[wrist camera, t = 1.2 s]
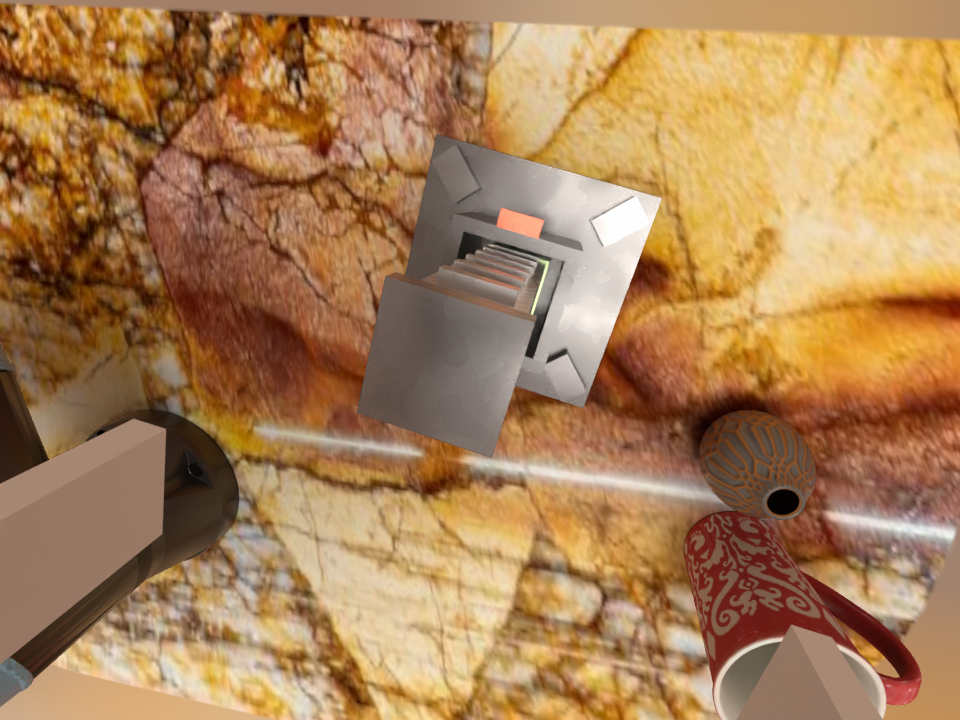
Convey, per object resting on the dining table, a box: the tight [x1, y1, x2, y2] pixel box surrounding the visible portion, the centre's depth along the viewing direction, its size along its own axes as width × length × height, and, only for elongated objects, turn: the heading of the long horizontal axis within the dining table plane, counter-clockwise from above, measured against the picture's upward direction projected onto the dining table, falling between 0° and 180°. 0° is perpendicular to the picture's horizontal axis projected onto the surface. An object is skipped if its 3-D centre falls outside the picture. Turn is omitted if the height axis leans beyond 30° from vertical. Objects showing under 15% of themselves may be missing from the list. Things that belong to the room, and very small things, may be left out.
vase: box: [699, 410, 816, 520], centre depth 34 cm, size 7×7×9 cm
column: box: [357, 242, 551, 458], centre depth 26 cm, size 5×5×22 cm
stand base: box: [405, 135, 662, 408], centre depth 33 cm, size 16×16×10 cm
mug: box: [684, 512, 921, 720], centre depth 35 cm, size 13×9×14 cm
